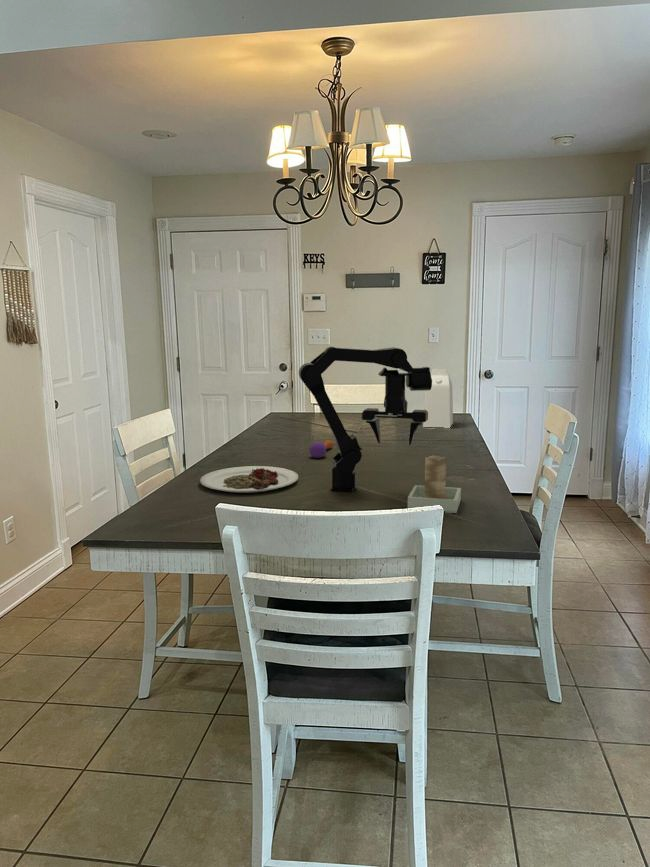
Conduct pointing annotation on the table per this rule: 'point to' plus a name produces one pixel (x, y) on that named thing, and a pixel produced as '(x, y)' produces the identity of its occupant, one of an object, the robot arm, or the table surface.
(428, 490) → the wooden block tower
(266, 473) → the plated food
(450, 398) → the milk
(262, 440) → the table surface
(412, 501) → the box
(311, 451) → the purple and orange maraca
